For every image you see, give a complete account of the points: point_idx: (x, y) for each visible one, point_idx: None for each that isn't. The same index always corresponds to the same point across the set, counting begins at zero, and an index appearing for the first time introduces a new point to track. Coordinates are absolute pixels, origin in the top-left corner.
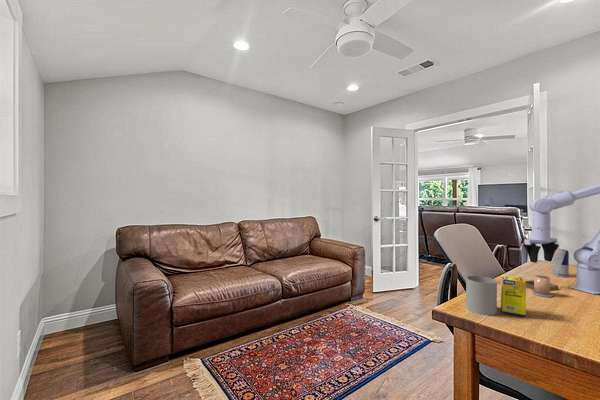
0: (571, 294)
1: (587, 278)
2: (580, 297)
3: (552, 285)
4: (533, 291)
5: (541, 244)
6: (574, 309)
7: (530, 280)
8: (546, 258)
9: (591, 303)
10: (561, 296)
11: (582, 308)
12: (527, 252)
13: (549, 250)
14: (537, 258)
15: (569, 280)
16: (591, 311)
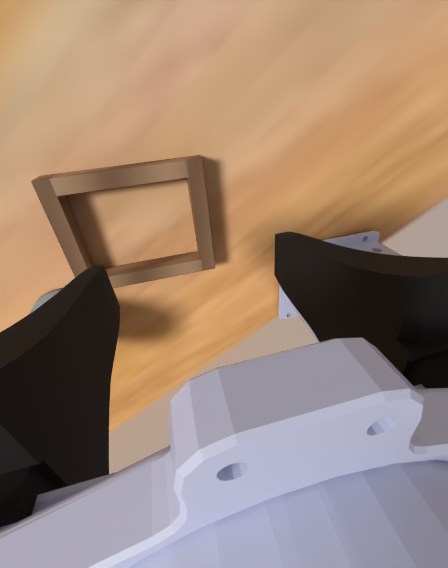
0: (201, 313)
1: (310, 330)
2: (201, 338)
3: (188, 266)
4: (43, 301)
5: (409, 280)
6: None
7: (144, 168)
8: (285, 255)
9: (178, 379)
10: (140, 332)
11: (109, 411)
12: (19, 323)
13: (333, 330)
14: (113, 343)
15: (422, 130)
16: (115, 423)
